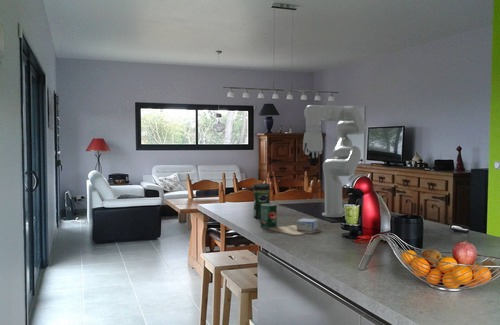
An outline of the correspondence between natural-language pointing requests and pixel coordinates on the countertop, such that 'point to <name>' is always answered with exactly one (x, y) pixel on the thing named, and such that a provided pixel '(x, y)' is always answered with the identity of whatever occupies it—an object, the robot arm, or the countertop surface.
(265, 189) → the coffee jar
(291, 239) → the countertop surface
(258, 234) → the countertop surface
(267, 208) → the canned tomato
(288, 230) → the wooden board
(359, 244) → the countertop surface
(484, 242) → the countertop surface
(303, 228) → the medicine box
